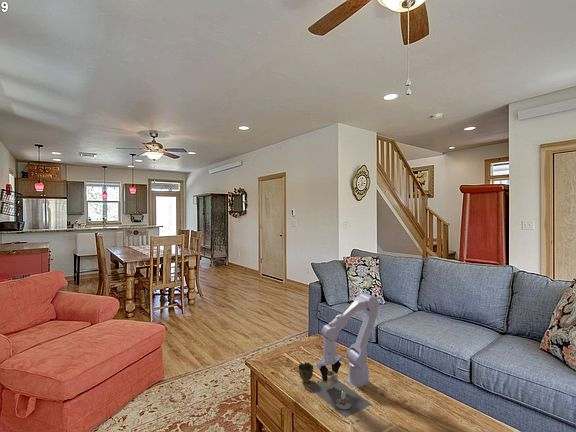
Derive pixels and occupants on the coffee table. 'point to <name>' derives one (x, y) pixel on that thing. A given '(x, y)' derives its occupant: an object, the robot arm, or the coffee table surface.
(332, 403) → the mat
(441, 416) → the coffee table surface
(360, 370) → the robot arm
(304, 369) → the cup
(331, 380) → the collar
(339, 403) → the post
